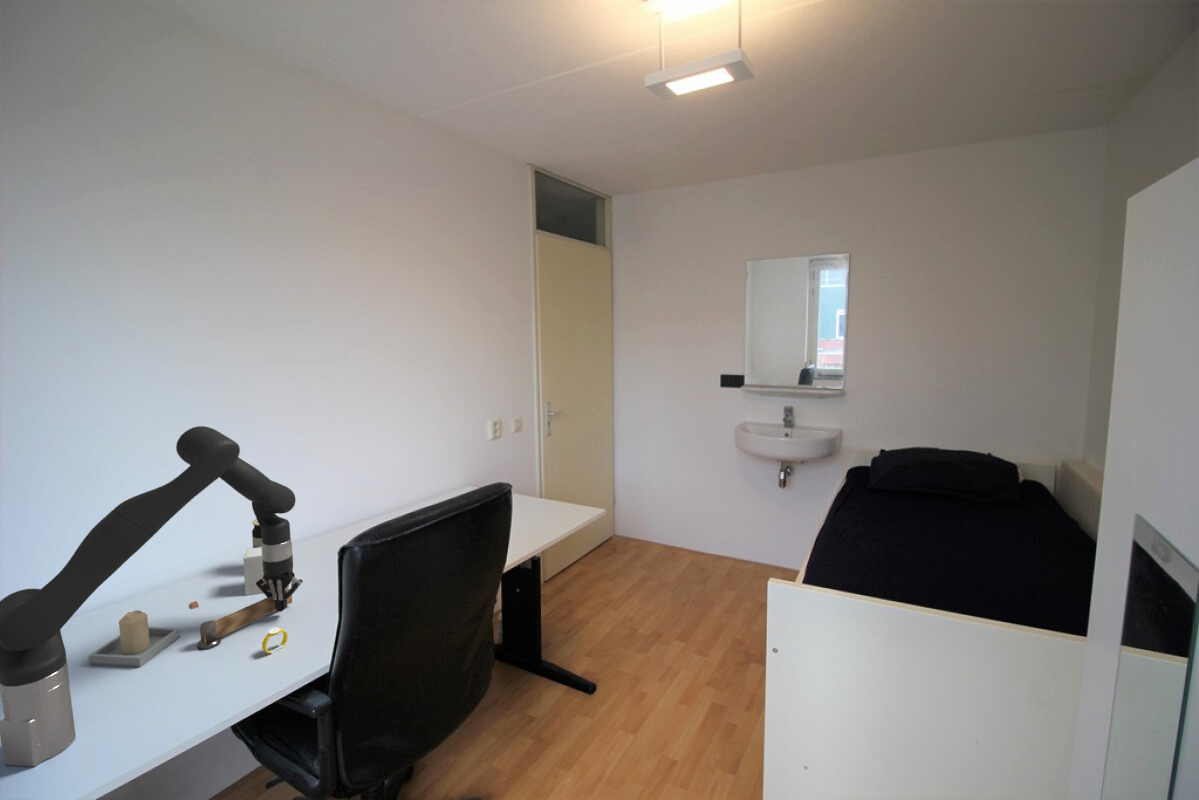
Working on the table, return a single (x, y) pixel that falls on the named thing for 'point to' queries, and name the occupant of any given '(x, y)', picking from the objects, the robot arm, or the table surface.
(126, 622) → the candle
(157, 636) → the tray
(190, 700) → the table surface
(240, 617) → the crank lever
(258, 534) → the travel mug
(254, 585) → the supplement box
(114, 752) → the table surface
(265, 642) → the watch
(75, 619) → the table surface
